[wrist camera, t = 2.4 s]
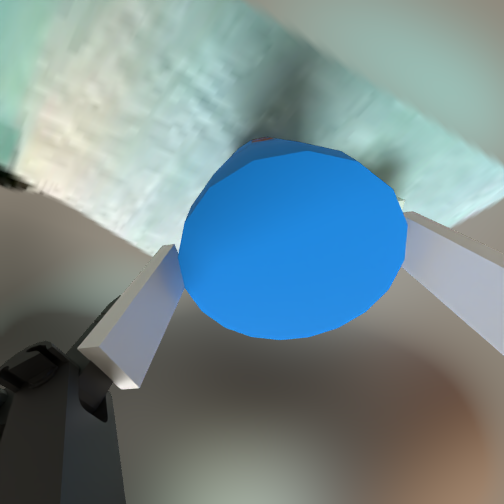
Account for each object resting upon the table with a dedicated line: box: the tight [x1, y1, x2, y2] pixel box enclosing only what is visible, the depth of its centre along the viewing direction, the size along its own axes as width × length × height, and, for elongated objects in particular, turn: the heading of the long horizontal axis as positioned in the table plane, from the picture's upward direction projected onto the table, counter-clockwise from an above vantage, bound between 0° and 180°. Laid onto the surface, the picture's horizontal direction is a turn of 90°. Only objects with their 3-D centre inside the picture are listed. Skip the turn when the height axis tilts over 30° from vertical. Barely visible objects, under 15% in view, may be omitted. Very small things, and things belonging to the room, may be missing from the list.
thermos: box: [178, 137, 408, 340], centre depth 20 cm, size 11×11×25 cm
